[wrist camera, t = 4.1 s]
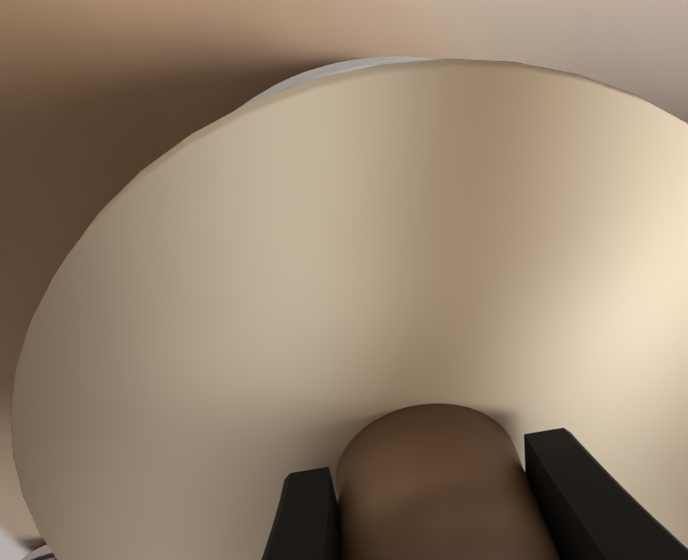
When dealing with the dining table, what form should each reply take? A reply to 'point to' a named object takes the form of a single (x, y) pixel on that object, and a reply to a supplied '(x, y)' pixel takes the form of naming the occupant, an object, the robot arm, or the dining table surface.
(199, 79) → the dining table surface
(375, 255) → the lid
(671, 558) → the robot arm
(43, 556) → the supplement bottle
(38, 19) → the dining table surface
